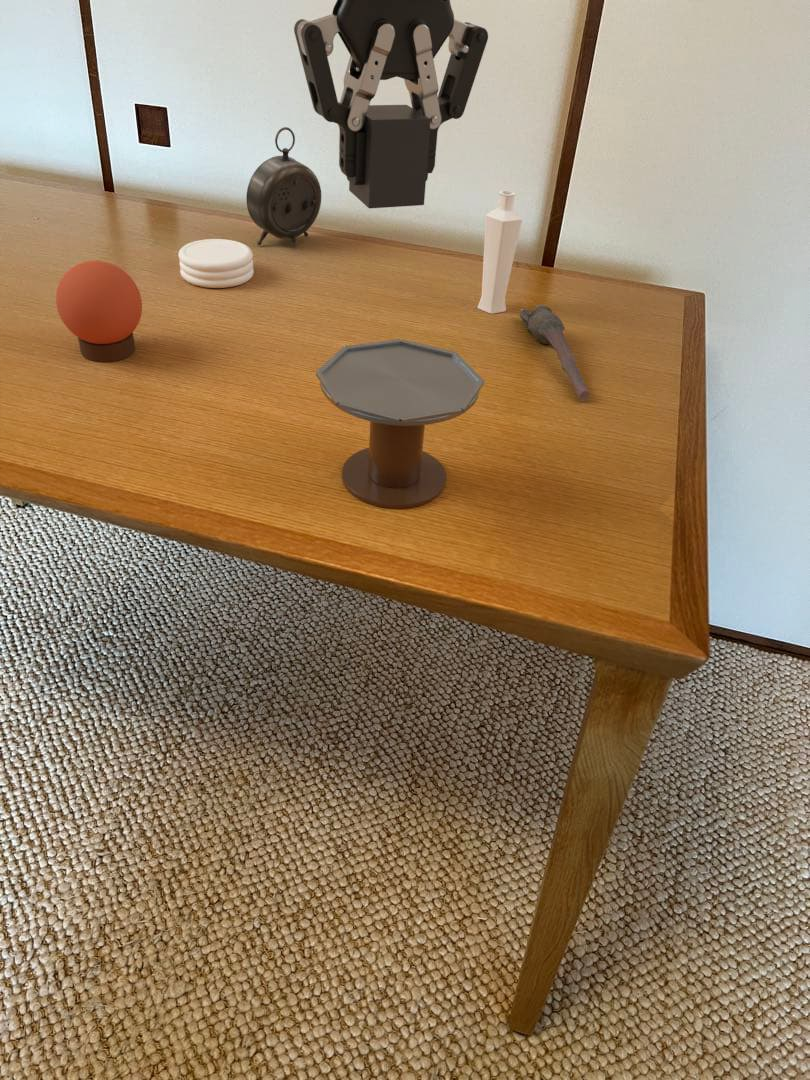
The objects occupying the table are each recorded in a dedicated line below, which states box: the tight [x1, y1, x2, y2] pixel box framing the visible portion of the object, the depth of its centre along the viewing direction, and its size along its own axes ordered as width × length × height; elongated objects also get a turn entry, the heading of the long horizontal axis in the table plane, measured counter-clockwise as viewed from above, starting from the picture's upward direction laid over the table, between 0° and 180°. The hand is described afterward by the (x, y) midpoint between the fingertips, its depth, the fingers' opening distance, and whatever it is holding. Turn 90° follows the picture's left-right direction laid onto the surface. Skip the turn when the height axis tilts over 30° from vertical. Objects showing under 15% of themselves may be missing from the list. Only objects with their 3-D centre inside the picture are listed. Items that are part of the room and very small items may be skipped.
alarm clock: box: [245, 126, 322, 248], centre depth 119 cm, size 11×5×16 cm, turn 130°
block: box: [348, 104, 431, 209], centre depth 61 cm, size 4×4×6 cm
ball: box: [55, 260, 143, 363], centre depth 91 cm, size 9×9×10 cm
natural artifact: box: [519, 304, 591, 403], centre depth 99 cm, size 4×23×4 cm, turn 5°
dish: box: [315, 338, 485, 510], centre depth 74 cm, size 14×14×11 cm
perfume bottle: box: [476, 189, 523, 315], centre depth 106 cm, size 5×4×15 cm
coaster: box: [178, 238, 255, 289], centre depth 112 cm, size 10×10×4 cm
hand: (386, 179), depth 62 cm, fingers closed on block, 4 cm apart
